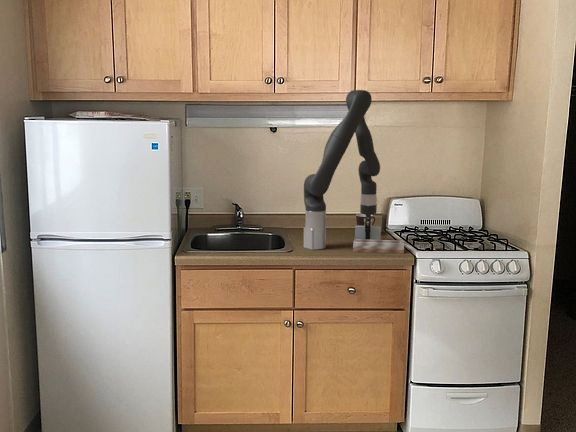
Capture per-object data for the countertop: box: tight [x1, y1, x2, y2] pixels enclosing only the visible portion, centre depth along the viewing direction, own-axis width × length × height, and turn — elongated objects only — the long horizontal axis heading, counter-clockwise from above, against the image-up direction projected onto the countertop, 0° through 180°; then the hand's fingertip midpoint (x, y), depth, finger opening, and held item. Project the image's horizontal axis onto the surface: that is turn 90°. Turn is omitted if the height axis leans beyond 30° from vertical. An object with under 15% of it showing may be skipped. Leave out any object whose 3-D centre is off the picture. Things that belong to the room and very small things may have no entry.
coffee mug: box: [355, 213, 376, 226], centre depth 290 cm, size 12×9×10 cm
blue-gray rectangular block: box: [354, 225, 382, 240], centre depth 271 cm, size 12×4×8 cm, turn 80°
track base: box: [352, 238, 405, 254], centre depth 255 cm, size 22×9×4 cm, turn 80°
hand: (367, 239), depth 271 cm, fingers closed on blue-gray rectangular block, 3 cm apart
